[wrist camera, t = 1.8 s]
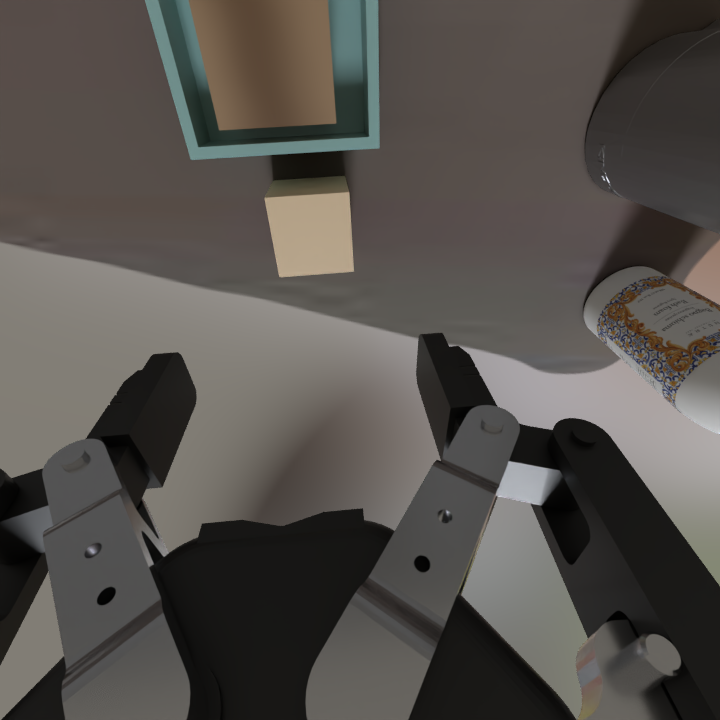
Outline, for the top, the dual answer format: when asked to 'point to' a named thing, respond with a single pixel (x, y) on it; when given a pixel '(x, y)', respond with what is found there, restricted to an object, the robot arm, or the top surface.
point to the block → (267, 61)
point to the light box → (310, 225)
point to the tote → (205, 141)
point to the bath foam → (662, 337)
